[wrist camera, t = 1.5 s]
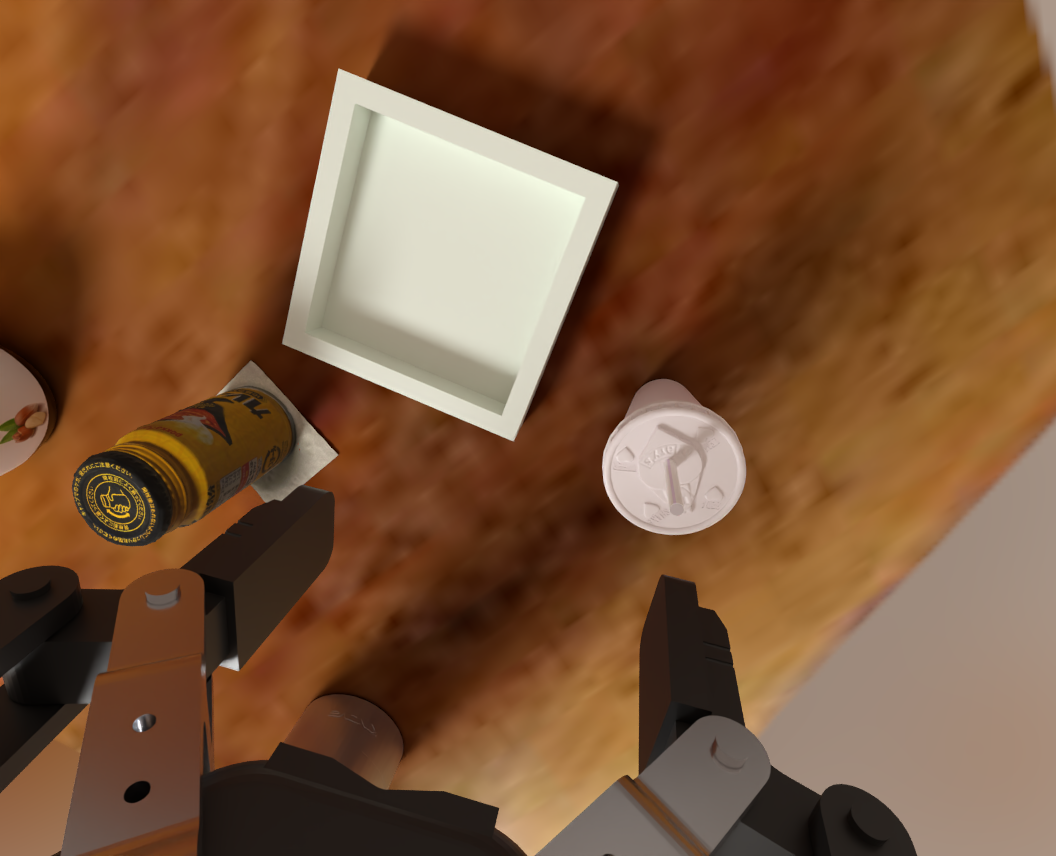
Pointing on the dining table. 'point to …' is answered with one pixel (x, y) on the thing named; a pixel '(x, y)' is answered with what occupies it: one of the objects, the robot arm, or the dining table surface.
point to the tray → (440, 255)
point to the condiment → (199, 462)
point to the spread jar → (22, 410)
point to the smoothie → (672, 462)
